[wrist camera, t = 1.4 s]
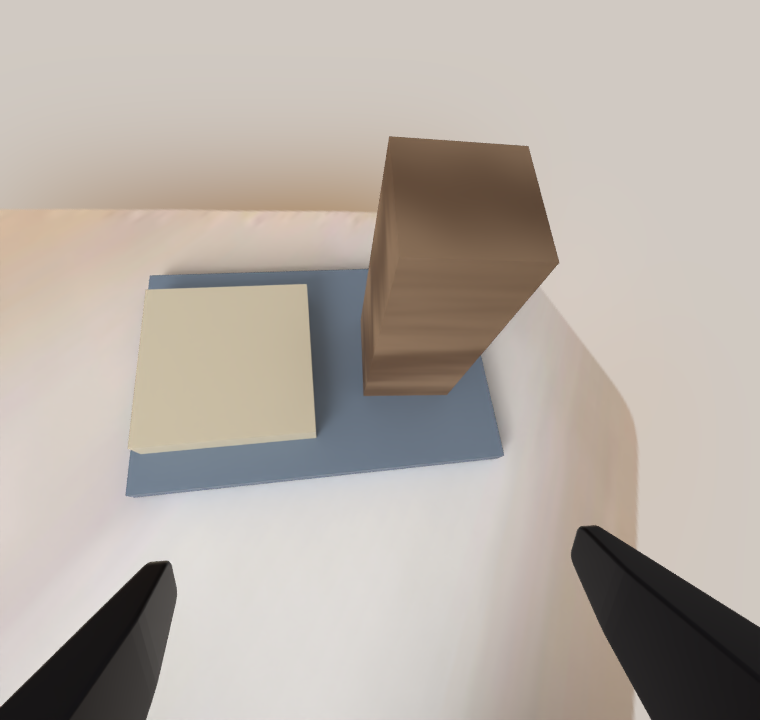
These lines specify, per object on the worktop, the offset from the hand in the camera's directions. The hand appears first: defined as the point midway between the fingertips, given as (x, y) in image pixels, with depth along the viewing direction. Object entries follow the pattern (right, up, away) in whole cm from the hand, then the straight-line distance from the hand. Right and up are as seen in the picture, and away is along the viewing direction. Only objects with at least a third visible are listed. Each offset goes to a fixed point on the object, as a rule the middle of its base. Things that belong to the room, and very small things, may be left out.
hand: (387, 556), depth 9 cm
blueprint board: (-4, +4, +16) cm, 17 cm away
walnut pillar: (+1, +5, +16) cm, 17 cm away
